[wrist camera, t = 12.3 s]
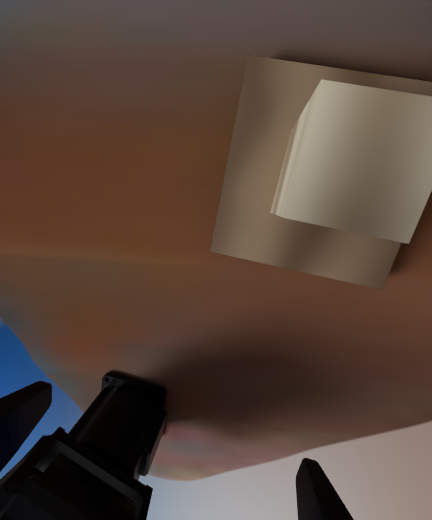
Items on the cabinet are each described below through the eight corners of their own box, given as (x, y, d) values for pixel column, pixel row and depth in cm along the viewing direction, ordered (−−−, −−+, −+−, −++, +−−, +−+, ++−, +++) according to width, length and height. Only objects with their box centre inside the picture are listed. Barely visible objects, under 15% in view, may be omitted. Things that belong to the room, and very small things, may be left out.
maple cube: (270, 212, 15) (283, 217, 10) (291, 130, 14) (321, 79, 8) (346, 228, 15) (408, 243, 9) (375, 145, 14) (469, 102, 8)
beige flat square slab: (214, 246, 18) (210, 251, 16) (248, 73, 15) (247, 55, 13) (367, 280, 17) (381, 289, 15) (437, 102, 14) (466, 87, 12)
